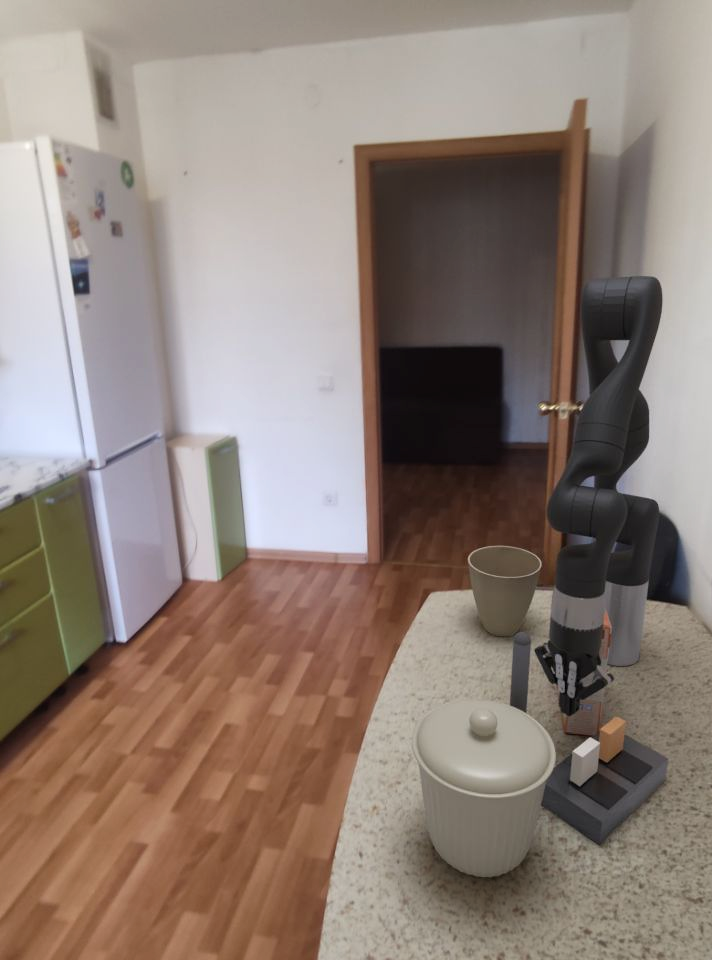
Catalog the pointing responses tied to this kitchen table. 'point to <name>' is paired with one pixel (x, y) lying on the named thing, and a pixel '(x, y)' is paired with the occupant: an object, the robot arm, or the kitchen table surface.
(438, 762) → the canister
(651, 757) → the panel
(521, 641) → the stand
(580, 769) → the white rectangular block
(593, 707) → the cracker box
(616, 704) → the kitchen table surface
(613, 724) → the block
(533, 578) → the plant pot
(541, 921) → the kitchen table surface
